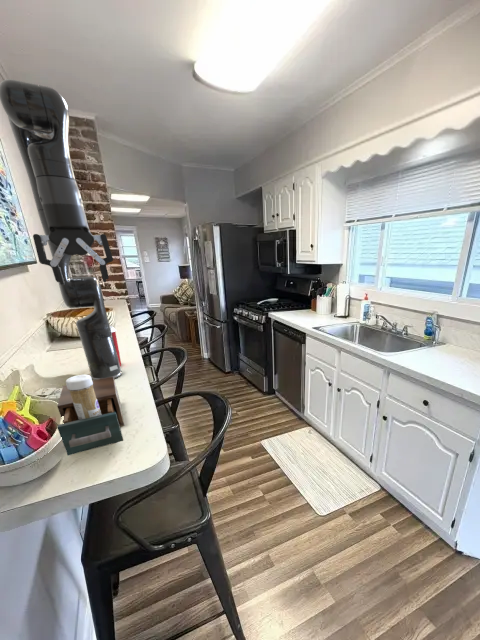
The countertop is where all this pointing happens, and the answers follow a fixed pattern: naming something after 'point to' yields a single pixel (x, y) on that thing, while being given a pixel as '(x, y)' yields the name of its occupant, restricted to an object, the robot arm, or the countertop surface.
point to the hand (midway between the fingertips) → (84, 283)
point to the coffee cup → (115, 342)
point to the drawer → (90, 429)
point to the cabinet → (102, 391)
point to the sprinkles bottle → (83, 396)
